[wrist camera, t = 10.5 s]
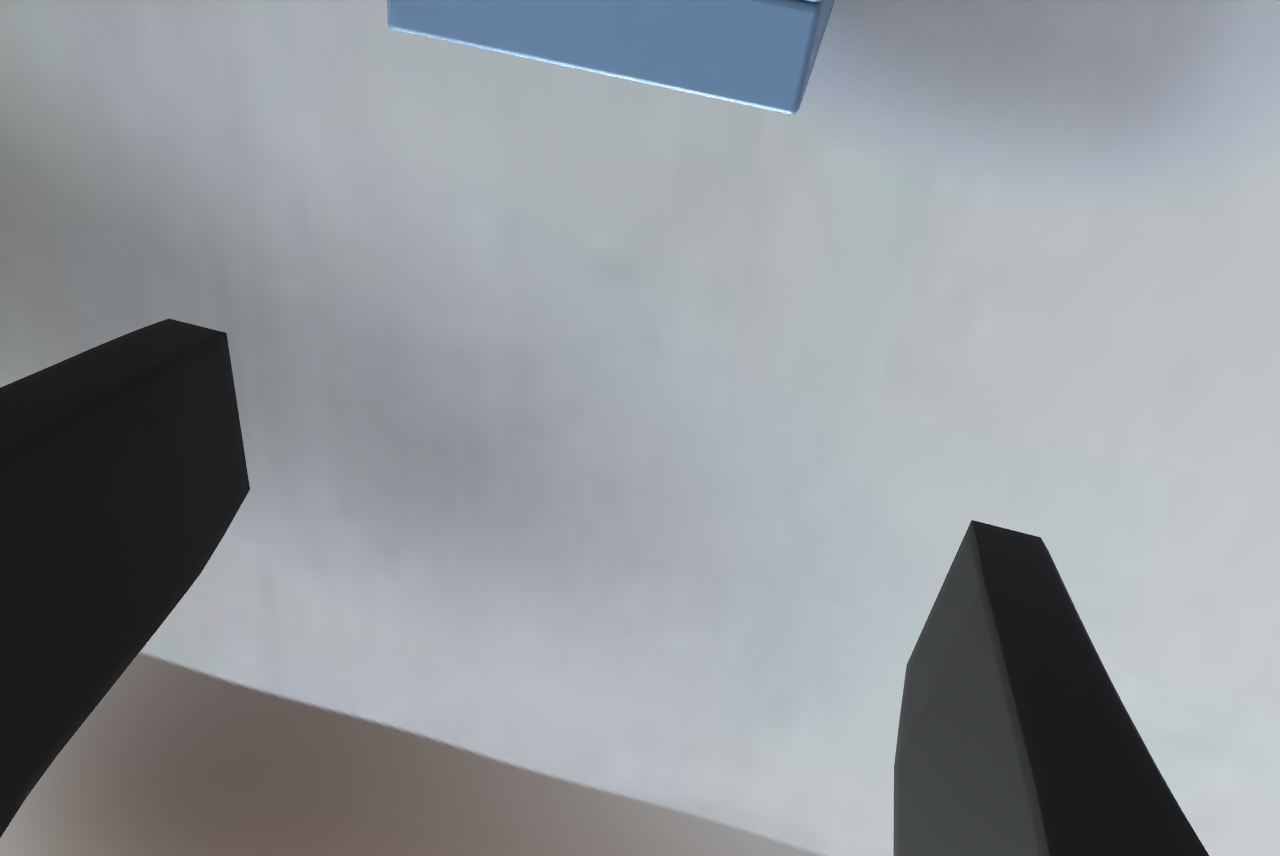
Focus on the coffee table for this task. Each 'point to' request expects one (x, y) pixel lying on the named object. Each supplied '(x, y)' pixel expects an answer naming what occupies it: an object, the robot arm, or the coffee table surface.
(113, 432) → the robot arm
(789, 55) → the blue block
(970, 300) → the coffee table surface
